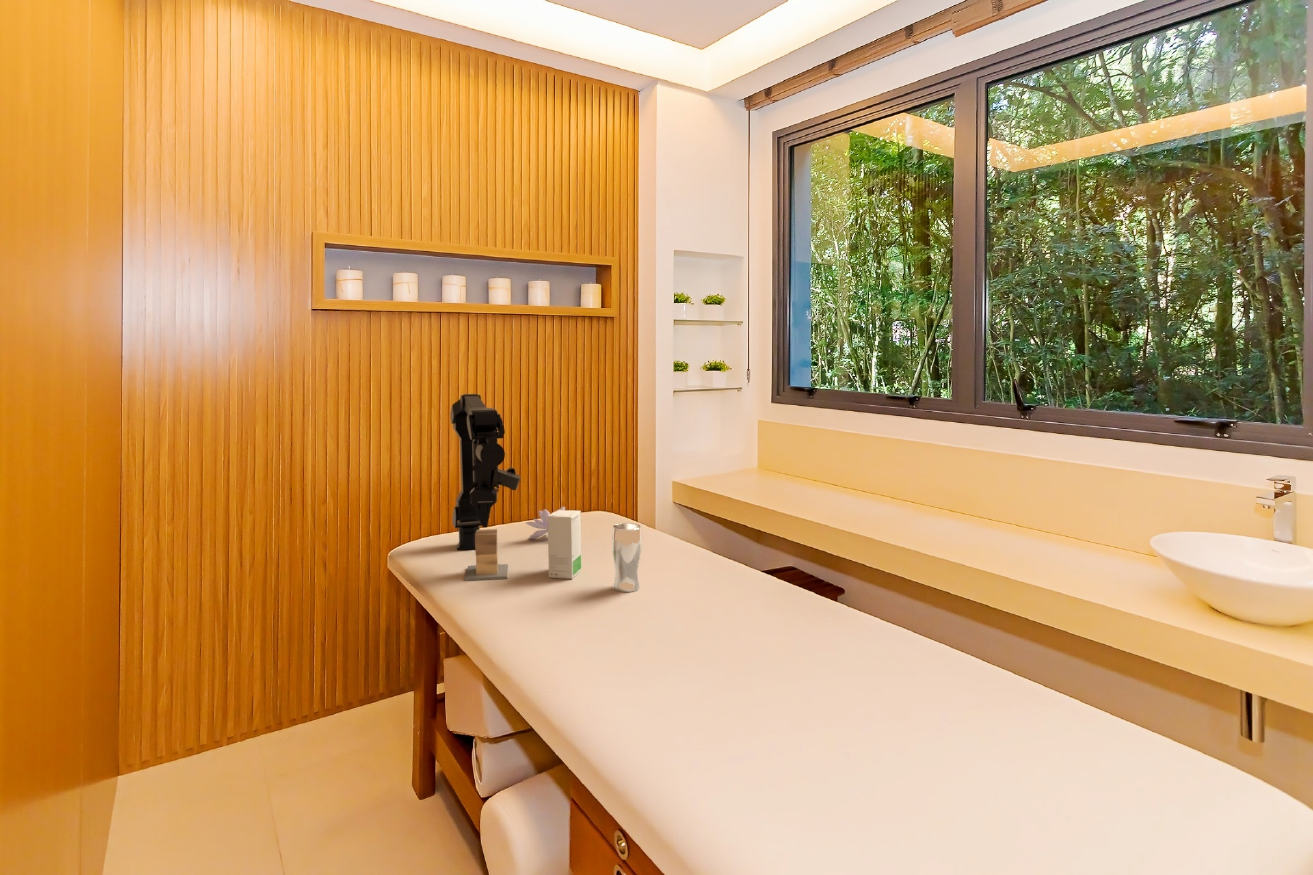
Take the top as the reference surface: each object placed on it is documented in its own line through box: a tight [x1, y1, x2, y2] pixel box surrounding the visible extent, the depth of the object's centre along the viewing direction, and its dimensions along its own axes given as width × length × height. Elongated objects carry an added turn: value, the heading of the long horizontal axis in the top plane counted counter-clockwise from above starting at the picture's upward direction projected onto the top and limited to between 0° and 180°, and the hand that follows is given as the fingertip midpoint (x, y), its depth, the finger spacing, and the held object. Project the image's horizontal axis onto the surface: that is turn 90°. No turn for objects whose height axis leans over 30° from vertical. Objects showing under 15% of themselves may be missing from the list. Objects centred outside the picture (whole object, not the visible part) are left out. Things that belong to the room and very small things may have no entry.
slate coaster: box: [464, 563, 509, 582], centre depth 181 cm, size 10×10×1 cm
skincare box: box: [547, 509, 583, 580], centre depth 181 cm, size 8×7×16 cm
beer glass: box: [611, 522, 643, 593], centre depth 171 cm, size 7×7×15 cm
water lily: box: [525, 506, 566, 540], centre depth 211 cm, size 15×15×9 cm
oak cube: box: [475, 548, 499, 575], centre depth 181 cm, size 5×5×5 cm
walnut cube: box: [474, 528, 498, 556], centre depth 180 cm, size 5×5×5 cm
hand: (486, 522), depth 180 cm, fingers open, 9 cm apart
